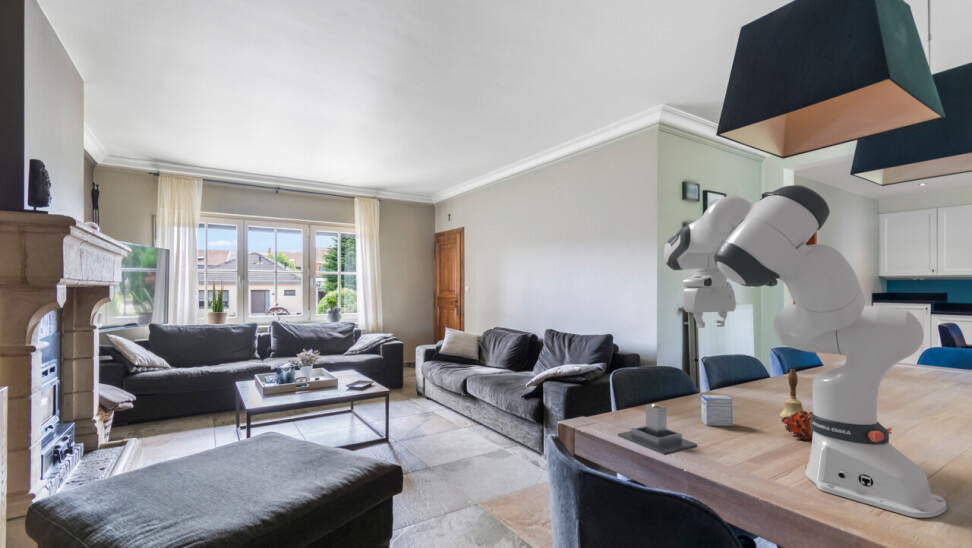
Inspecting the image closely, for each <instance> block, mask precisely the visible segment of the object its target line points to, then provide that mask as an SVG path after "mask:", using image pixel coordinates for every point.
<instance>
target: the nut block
mask: <svg viewBox="0 0 972 548" xmlns="http://www.w3.org/2000/svg"><path fill="white" fill-rule="evenodd" d="M645 426H646V433H647V434H650V435H653V436H655V437H658V438H659V437H664V436H666V429H667V406H665V405H661V404H659V403H651V404H646V405H645Z"/></svg>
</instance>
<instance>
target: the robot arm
mask: <svg viewBox="0 0 972 548" xmlns="http://www.w3.org/2000/svg"><path fill="white" fill-rule="evenodd" d="M830 213H831V211H830V208H829V205H828V203H827V201H826V199H824V197H822V196H821V195H820V194H819V193H817V191H815V190H813V189H811V188H809V187H807V186H804V185H798V184H795V185H785V186H782V187H779V188H777V189H775V190H773V191H765V192H763V193H761V198H759V201H757V202H754V203H753V202H750V201H748V200H747V199H745V198H743V197H740V196H736V195H735V196H733V195H730V196H729V195H728V196H724V197H721V198H719V199H717V200H715V202H714V201H713V203H711V204H710V206H708V208H706V210H705V211H704V213H703V214H702V216H701V217H700V218H698V219H697V220H695V221H693V222H691V223H689V224H687V225H685V226H683V227H681V228H680V229H679V230H678V231H677V232H676V233H675V235H673V236H671V237H669V239H668V240H667V241H666V243H665V246H664V248H663V249H664V250H663V257H664V258H663V259H664V261H665V264H666V265H667V267H668V268H669V269H671V270H672V271H683V270H693V275H691V276H689V277H687V278H685V279H683V280H682V287H684V290H683V292H682V293H683V294H682V295H683V297H682V299H683V300H682V303H683V309H684V311H685V312H686V313H693V315H692V316H693V318H694V320H695V322H696V325H695V326H696V329H699V328H700V329H704V328H705V327H706V322H705V321H704V320H703V319H704V318H703V314H704V313H717V315H718V318H717V320H716V321H715V323H716V327H719V328H723V327H725V323H726V322H725V321H726V319H727V316H728V313H729V312H735V310H736V307H737V304H736V303H737V302H736V294H735V290H734V289H733V285H732V284H731V283H730V281H732V282H734V283H736V284H739V285H741V286H743V287H750V288H753V287H754V288H759V287H763V286H766V287H770V288H771V287H772V288H773V287H775V286H777V285H778V280H780V281H782V282H783V283H784V285H786V287H787V289H788V292H789V294H790V297H791V298H792V300H793V303H794V304H791V305H789V306H785V307H783V308H782V309H780V310H779V311H778V313H776V315H775V317H774V318H775V319H774V321H773V331H774V334H775V336H776V338H777V340H778V341H779V343H780V344H781V345H783V346H784V347H786V348H791V349H795V350H799V351H802V352H807V353H818V354H828V355H829V354H831V355H840V356H844V357H845V364H843V366H842V365H841V366H840V367H836V368H832V369H829V370H826V371H824V372H821V373H819V374H818V375H816V377H814V379H813V381H812V385H811V386H812V390H811V391H812V411H811V412H812V413H811V422H810V427H811V435H812V441H811V448H810V455H809V459H808V463H807V467H806V470H805V472H804V474H805V476H806V477H807V479H809V480H810V481H811V482H813V483H814V484H815V485H816V488H817V489H819V490H820V491H822V492H826V493H828V494H833V495H836V496H839V497H843V498H847V499H848V500H852V501H857V502H859V503H864V504H866V505H869V506H870V505H871V506H874V507H877V508H880V509H884V510H887V511H890V512H893V513H897V514H900V515H904V516H908V517H912V518H916V519H917V518H918V519H923V518H924V519H925V518H933V517H934V518H935V517H937V516H940V515H942V514H944V513H945V512H946V511H947V510H948V509H947V508H948V507H947V501H946V500H945V499H944V498H943V497H942V496H940V495H937V494H935V493H932V491H931V487H930V482H929V480H928V477H927V474H926V472H925V470H924V469H923V468H922V467H920V466H919V465H918V464H916V462H914V461H913V460H912V459H910V458H909V457H907V456H906V455H905V454H904V453H902V452H901V451H900V450H899V449H898V448H897V447H895V446H893V444H891V443H890V435H891V434H892V433H893V432H892V427H889V428H886V427H884V426H883V425H882V424H881V423H880V422H879V421H878V398H879V397H878V396H879V389H880V385H881V382H882V380H883V378H884V376H885V375H886V374H887V373H888V372H889V370H890V369H891V368H892V367H893V366H895V365H896V364H898V363H899V362H901V361H903V360H905V359H907V358H909V357H912V356H913V355H914V354H915V353H917V351H919V349H920V348H921V346H922V345H923V342H924V337H925V335H924V334H925V333H924V328H923V325H922V323H921V322H920V320H919V319H918V318H917V317H916V316H915V315H914V314H913V313H912V312H910V311H908V310H905V309H898V308H895V307H887V306H879V305H878V306H877V305H866V301H865V296H864V294H863V291H862V287H861V285H860V281H859V279H858V276H857V274H856V273H855V270H854V268H853V267H852V265H851V264H850V263H849V261H848V260H847V258H845V256H844V255H843V254H842V253H841V252H840V251H839V250H837V249H836V248H834V247H832V246H829V245H827V244H820V243H819V244H818V243H817V244H809V245H808V244H807V243H808V242H809V240H810V239H812V237H813V236H814V234H815V233H816V232H817V231H819V230H821V229H822V227H823V226H824V225H825V223H826V221H827V219H828V218H829V216H830ZM727 279H728V280H729V281H728V280H727Z"/></svg>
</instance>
